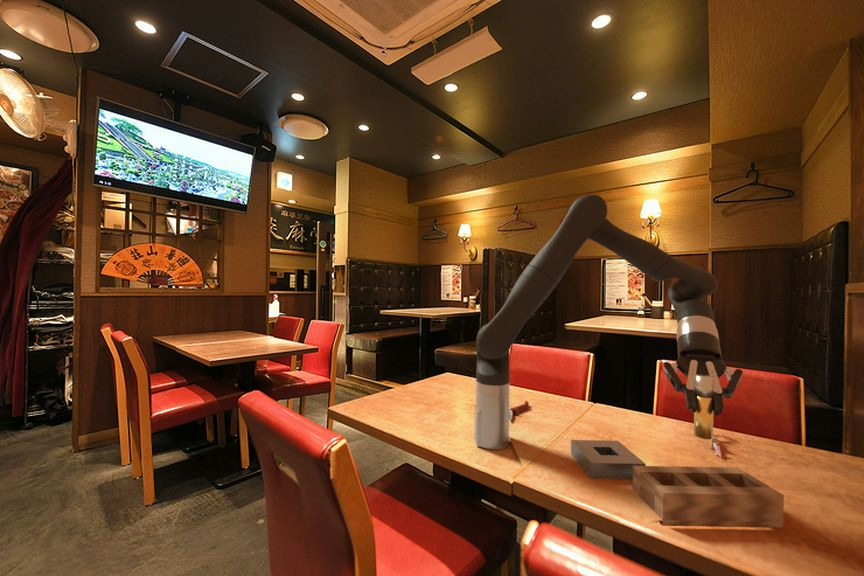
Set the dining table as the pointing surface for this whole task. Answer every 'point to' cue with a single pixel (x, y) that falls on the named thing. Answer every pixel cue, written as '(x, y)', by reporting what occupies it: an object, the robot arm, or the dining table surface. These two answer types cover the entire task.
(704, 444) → the dining table surface
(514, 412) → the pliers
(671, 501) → the vial rack
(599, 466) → the socket block
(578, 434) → the dining table surface
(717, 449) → the decorative key
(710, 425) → the gold clear cylinder
